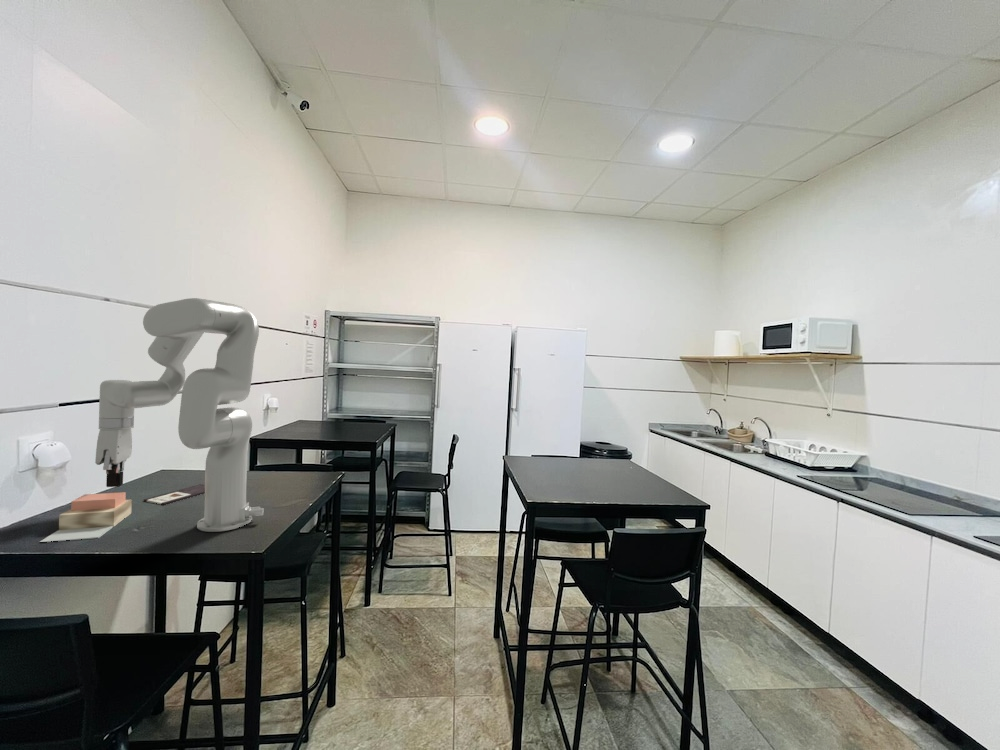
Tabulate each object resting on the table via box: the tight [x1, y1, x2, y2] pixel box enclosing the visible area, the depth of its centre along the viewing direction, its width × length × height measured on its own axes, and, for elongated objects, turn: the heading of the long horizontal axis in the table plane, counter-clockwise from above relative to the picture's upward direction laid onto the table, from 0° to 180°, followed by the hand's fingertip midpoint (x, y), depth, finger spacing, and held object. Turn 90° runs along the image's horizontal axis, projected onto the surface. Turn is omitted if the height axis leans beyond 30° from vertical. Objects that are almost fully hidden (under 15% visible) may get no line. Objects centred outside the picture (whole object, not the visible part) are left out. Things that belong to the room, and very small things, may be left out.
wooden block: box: [58, 498, 133, 530], centre depth 114 cm, size 11×10×4 cm
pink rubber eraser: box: [70, 491, 127, 511], centre depth 115 cm, size 9×6×2 cm, turn 111°
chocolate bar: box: [143, 483, 205, 506], centre depth 138 cm, size 9×1×18 cm
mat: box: [39, 526, 114, 543], centre depth 105 cm, size 11×7×1 cm, turn 111°
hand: (114, 485), depth 123 cm, fingers closed
